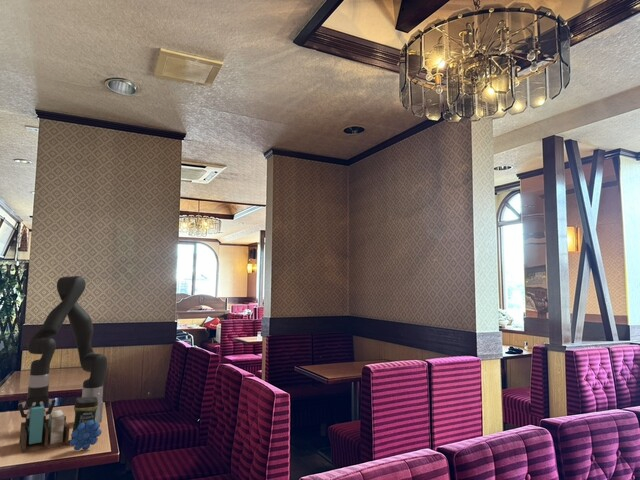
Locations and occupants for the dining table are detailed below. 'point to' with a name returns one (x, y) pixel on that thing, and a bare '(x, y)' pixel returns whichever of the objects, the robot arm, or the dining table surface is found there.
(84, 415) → the coffee jar
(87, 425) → the grapes
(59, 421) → the book rack
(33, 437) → the teal book
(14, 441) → the dining table surface
